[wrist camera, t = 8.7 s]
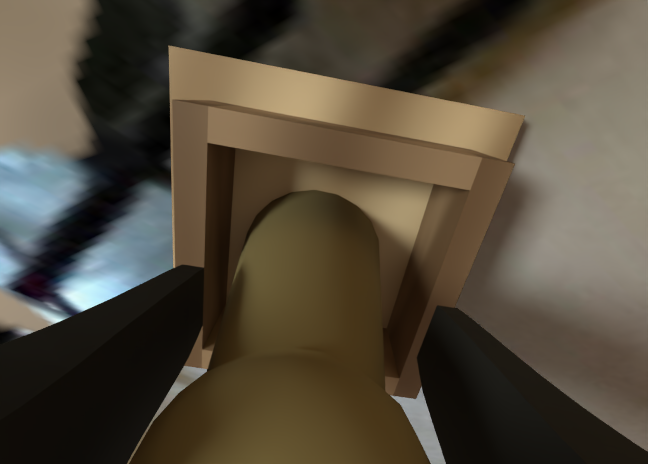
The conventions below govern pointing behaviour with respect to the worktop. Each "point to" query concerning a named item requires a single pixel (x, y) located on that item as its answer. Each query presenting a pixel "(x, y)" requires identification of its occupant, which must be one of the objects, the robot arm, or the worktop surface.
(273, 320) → the cork
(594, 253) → the worktop surface
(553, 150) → the worktop surface
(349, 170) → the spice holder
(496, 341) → the robot arm
